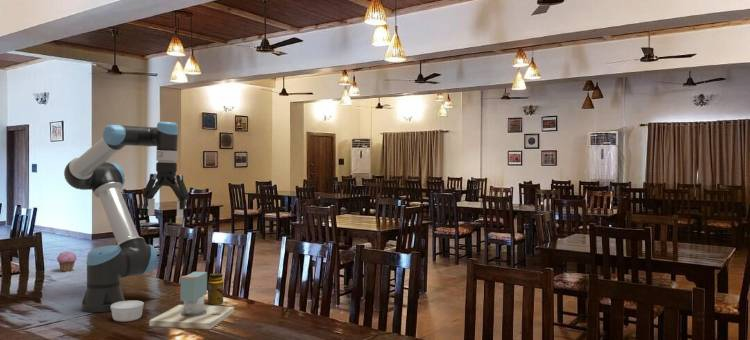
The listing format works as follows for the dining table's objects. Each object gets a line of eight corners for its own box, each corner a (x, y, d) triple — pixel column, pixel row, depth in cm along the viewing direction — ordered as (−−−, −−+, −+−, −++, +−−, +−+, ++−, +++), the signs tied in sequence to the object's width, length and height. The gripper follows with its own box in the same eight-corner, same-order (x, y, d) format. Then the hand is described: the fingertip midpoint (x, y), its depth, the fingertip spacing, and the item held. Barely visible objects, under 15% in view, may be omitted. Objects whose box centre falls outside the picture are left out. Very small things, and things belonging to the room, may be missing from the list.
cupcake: (54, 271, 285) (54, 251, 285) (72, 268, 291) (72, 249, 291) (61, 273, 279) (61, 253, 279) (79, 271, 286) (79, 251, 285)
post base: (149, 326, 192) (149, 319, 192) (179, 309, 214) (179, 303, 214) (210, 329, 189) (210, 322, 189) (234, 312, 211) (234, 306, 211)
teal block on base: (191, 307, 208) (191, 270, 208) (209, 307, 207) (209, 271, 207) (177, 315, 196) (177, 277, 196) (196, 316, 195) (197, 277, 195)
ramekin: (122, 324, 194) (122, 309, 194) (103, 319, 200) (103, 305, 200) (150, 317, 203) (150, 303, 203) (131, 312, 209) (131, 298, 209)
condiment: (226, 304, 223) (226, 274, 223) (205, 307, 218) (205, 276, 218) (220, 300, 229) (221, 271, 229) (200, 303, 224) (200, 273, 224)
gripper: (133, 160, 215) (132, 215, 216) (187, 163, 207) (185, 219, 207) (147, 160, 222) (146, 213, 223) (199, 163, 214) (198, 217, 215)
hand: (165, 216), depth 215 cm, fingers open, 13 cm apart
